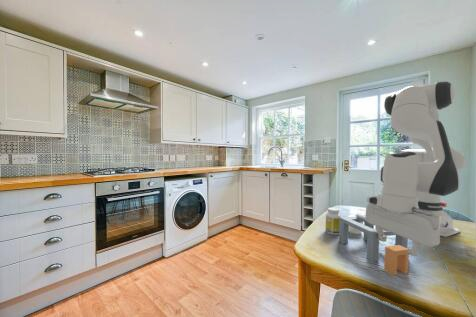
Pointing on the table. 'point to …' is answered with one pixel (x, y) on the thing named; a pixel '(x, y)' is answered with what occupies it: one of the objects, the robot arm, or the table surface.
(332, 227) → the pill bottle
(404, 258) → the tall tan box
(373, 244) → the square frame with slider
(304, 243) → the table surface
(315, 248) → the table surface
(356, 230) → the shot glass
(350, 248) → the table surface
